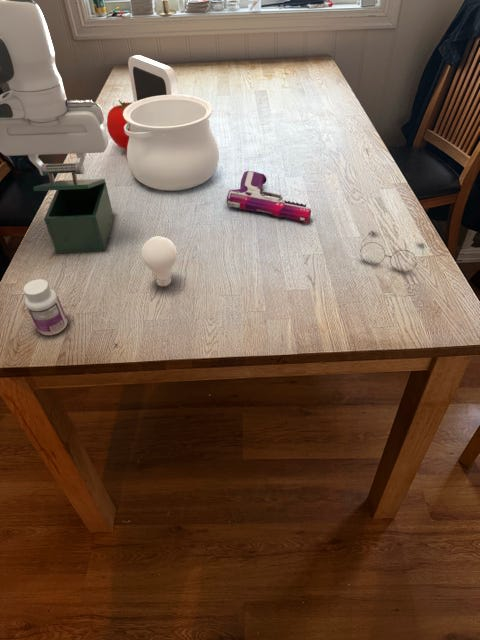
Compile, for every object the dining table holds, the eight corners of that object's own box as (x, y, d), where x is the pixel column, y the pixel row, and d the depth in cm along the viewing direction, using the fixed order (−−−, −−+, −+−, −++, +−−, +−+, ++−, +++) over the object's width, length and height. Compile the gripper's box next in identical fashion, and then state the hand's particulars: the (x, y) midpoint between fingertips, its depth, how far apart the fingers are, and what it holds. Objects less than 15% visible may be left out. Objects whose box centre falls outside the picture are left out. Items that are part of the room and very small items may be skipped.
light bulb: (180, 273, 93) (174, 228, 86) (181, 294, 89) (175, 248, 81) (148, 276, 93) (139, 230, 85) (147, 297, 88) (138, 251, 80)
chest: (105, 251, 99) (95, 216, 93) (56, 253, 99) (43, 218, 92) (113, 215, 109) (105, 182, 103) (69, 217, 109) (58, 184, 103)
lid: (88, 188, 89) (84, 162, 87) (33, 191, 88) (28, 165, 87) (105, 182, 103) (102, 160, 101) (58, 184, 103) (54, 162, 101)
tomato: (154, 154, 133) (147, 107, 124) (112, 158, 131) (102, 111, 122) (152, 138, 141) (145, 93, 132) (112, 142, 139) (102, 97, 130)
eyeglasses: (369, 232, 103) (373, 213, 99) (425, 246, 99) (432, 227, 95) (355, 260, 96) (359, 240, 92) (415, 276, 92) (422, 256, 88)
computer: (168, 71, 118) (176, 69, 119) (125, 54, 130) (133, 52, 131) (176, 152, 133) (184, 150, 135) (138, 131, 145) (145, 128, 147)
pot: (169, 206, 112) (160, 139, 100) (111, 175, 124) (96, 112, 112) (239, 170, 125) (238, 107, 113) (180, 145, 137) (174, 86, 125)
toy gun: (322, 196, 114) (306, 228, 105) (244, 181, 120) (222, 210, 110) (324, 183, 112) (307, 214, 102) (244, 168, 117) (221, 196, 108)
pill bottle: (41, 316, 85) (23, 277, 78) (70, 314, 85) (54, 275, 78) (34, 337, 81) (15, 297, 74) (65, 335, 81) (48, 295, 74)
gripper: (102, 93, 83) (117, 164, 93) (-11, 96, 82) (16, 168, 92) (96, 105, 79) (113, 179, 89) (-23, 109, 78) (7, 183, 88)
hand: (63, 173), depth 90 cm, fingers closed on lid, 5 cm apart
